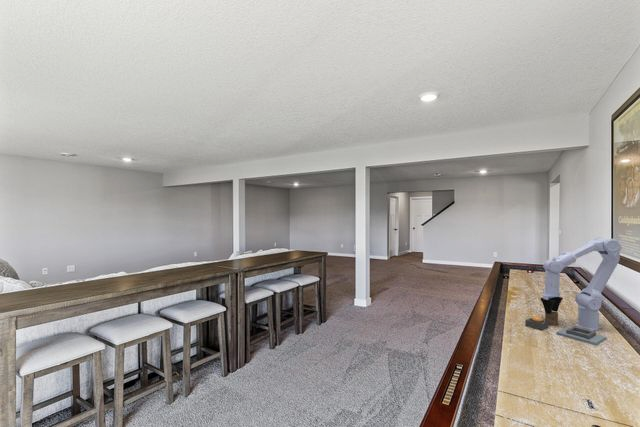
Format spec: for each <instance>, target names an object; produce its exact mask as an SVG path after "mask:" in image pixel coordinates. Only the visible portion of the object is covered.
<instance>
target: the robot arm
mask: <svg viewBox="0 0 640 427" xmlns="http://www.w3.org/2000/svg"><path fill="white" fill-rule="evenodd" d="M621 250H622V246H621V244H620V242H619V241H618V240H617V239H615V238H605V237H596V238H594V239H591V240H589V242H587V243H585V244H583V245H582V246H580V247H579V248H577V249H574V250H573V251H571V252H569V251H566V252H565V251H562V252H561V254H560V255H559V256H556V257H553V258H552V259H547V260H545V262H544V263H543V264H542V267H543V269H544V270H545V271H544V272H545V275H544V279H545V281H544V291H542V292H541V293H542V295H543V296H542V297H540V302H541V303H542V305H543V308H544V314H545V313H547V314H551V312H552V311H554V312H558V311H559V307H560V305H561V303H562V302H563V300H564V297H561V292H560V281H561V280H560V279H561V278H560V274H561V273H562V271H563V269H565V268H567V267H568V266H570V265H572V264H574V263H576V261H577V259H578V258H580V257H583V256H586V255H588V254H589V253H593V252H598V254H599V255H600V256H601V257H602V261H601V262H600V264H599V265H598V267H597V269H596V270H595V273H594V275H593V276H592V278H591V280H590V282H589V284H588V285H587V287H585V288H583V289H581V291H580V292H579V293H578V294H576V296H575V298H574V300H575V302H576V304H577V307H578V308H577V310H578V311H577V323H576V324H574V327H577V328H581V329H585V330H589V331H594V332H596V331H598V330H600V329H602V328H603V326H601V325H600V313H599V310H600V309H601V308H602V302H603V300H604V297H603V295H602V292H603V291H604V289H605V287H606V285H607V283H608V282H609V280H610V278H611V276H612V274H613V273H614V271H615V269H616V268H617V266H618V264H619V262H620V259H621V258H620V256H621V255H620V251H621Z"/></svg>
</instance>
